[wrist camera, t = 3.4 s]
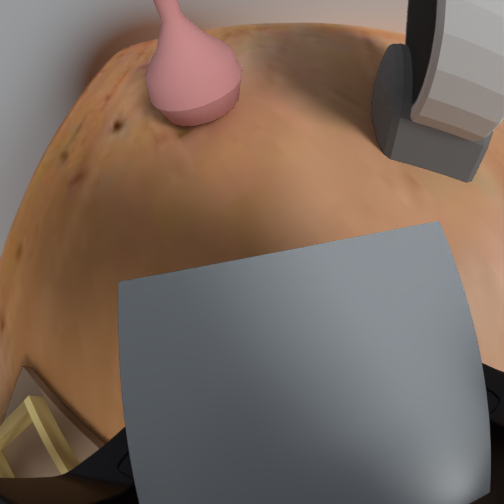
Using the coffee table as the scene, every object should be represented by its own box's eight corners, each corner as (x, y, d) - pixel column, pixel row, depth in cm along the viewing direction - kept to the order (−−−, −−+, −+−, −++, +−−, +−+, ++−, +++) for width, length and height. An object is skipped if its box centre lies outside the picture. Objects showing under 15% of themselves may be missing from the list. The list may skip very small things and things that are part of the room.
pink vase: (246, 137, 22) (209, -7, 11) (156, 148, 23) (90, 31, 13) (250, 82, 25) (225, -31, 15) (174, 94, 26) (132, -6, 16)
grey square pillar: (355, 417, 13) (490, 492, 2) (260, 434, 14) (152, 550, 2) (341, 339, 15) (439, 221, 4) (249, 356, 16) (119, 281, 4)
